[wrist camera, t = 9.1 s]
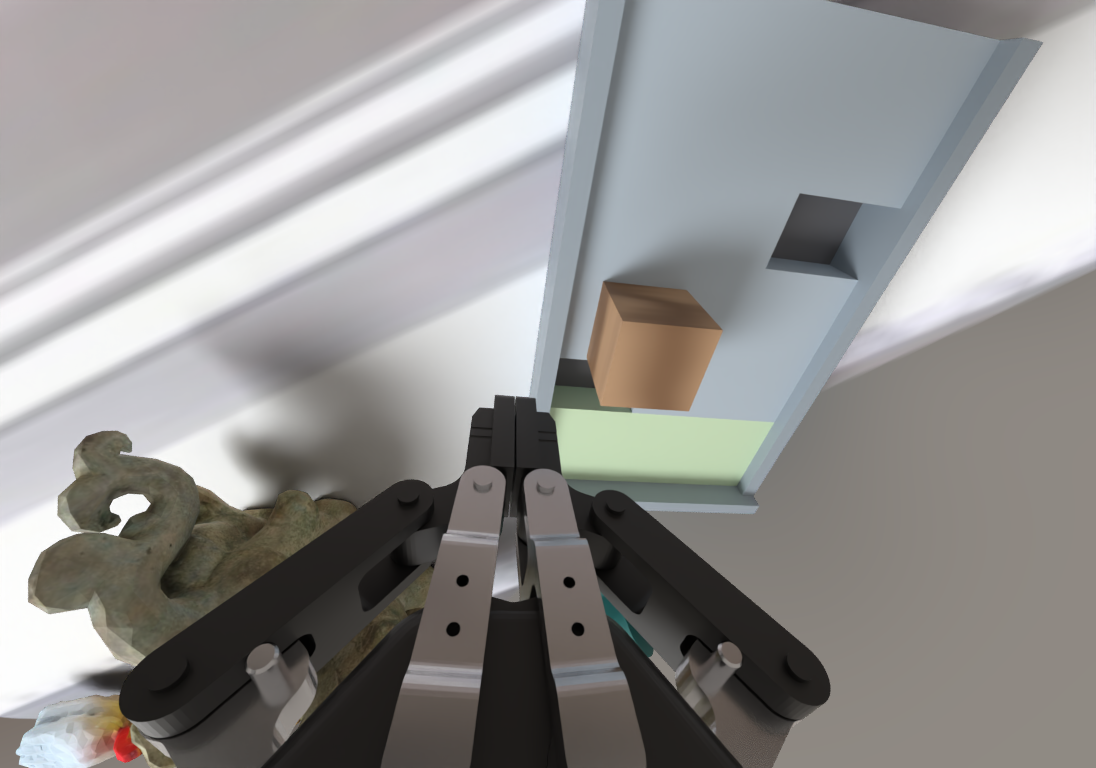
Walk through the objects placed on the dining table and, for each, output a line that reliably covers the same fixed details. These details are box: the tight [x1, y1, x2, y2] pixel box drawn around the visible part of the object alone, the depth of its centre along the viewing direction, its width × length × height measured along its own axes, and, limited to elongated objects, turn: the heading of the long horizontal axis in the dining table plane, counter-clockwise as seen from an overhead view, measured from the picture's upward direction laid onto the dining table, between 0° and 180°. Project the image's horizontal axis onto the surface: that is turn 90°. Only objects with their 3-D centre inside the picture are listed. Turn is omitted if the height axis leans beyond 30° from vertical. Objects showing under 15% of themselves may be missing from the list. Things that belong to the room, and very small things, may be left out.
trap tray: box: [529, 0, 1043, 514], centre depth 26 cm, size 19×30×5 cm, turn 172°
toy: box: [16, 695, 300, 768], centre depth 49 cm, size 9×13×30 cm
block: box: [587, 281, 723, 411], centre depth 23 cm, size 5×5×5 cm
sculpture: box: [28, 431, 434, 768], centre depth 28 cm, size 29×27×30 cm
